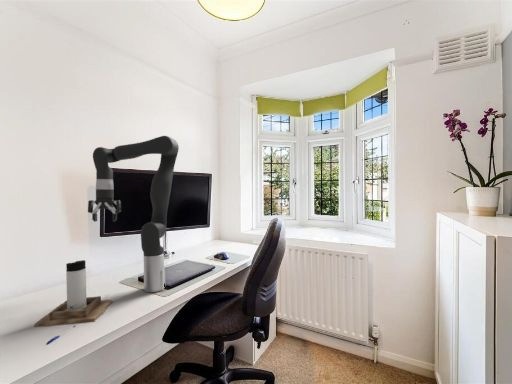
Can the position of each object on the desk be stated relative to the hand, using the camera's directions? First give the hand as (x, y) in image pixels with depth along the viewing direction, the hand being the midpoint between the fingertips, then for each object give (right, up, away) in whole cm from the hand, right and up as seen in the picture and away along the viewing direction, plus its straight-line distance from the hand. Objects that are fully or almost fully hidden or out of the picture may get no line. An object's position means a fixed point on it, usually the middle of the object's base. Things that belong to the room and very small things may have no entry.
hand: (104, 221), depth 122 cm
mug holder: (+3, -34, -23) cm, 41 cm away
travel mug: (+3, -33, -24) cm, 41 cm away
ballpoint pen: (+9, -35, -38) cm, 52 cm away
